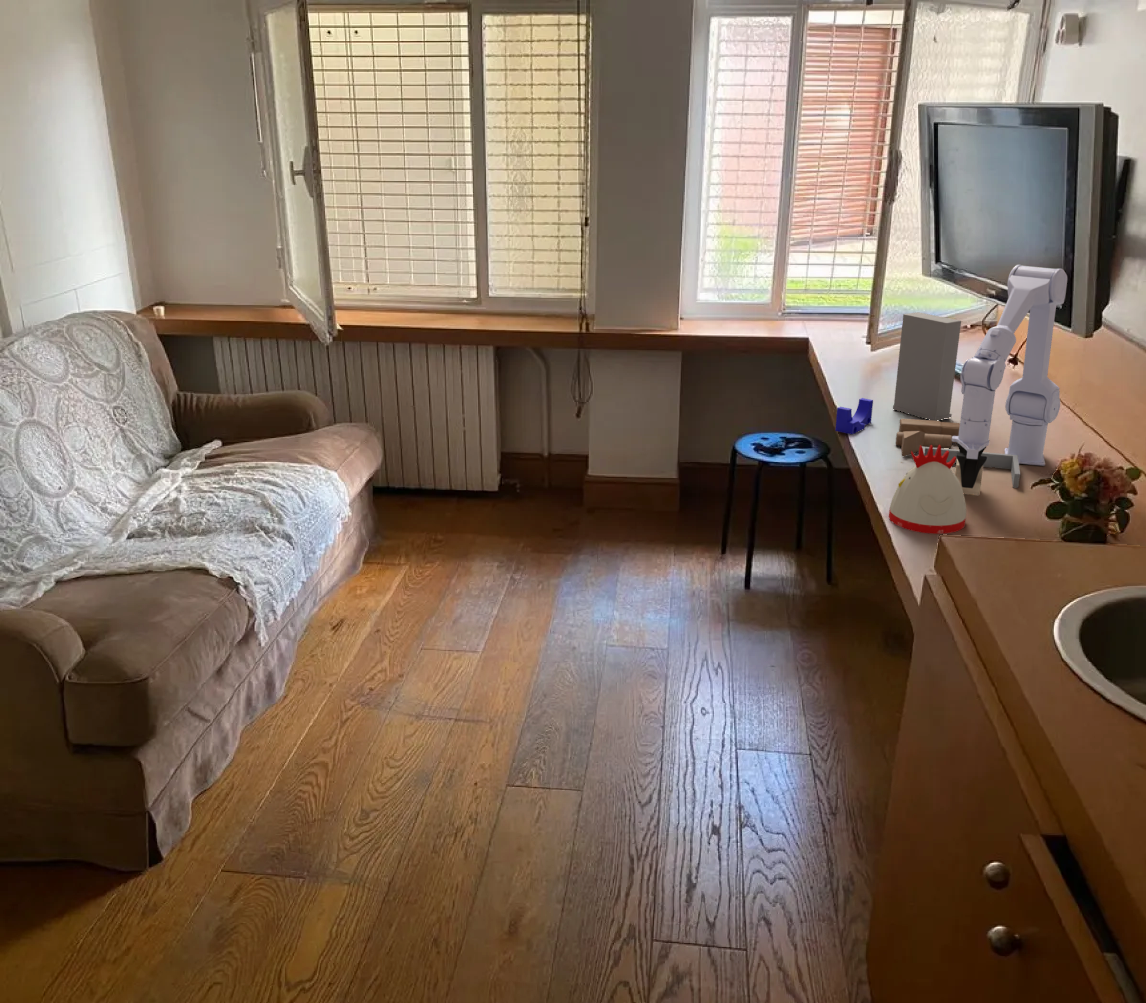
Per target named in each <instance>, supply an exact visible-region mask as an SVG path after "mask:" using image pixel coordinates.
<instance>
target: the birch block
mask: <svg viewBox="0 0 1146 1003" xmlns="http://www.w3.org/2000/svg"><path fill="white" fill-rule="evenodd" d="M983 471H984V467H983V466H982V467H981V469H980V471H979V473H978V476H977V479H976V482H975V484H974V487H973V488H964V487H962V484H961V470H960V465H959V462H958V459H957V463H956V464H955V472H954V474H955V476H956V477H957V479H958V480H959V482H960V485H961V487H962V490H963V493H965V494H964V495H969V494H974V495H973V496H980V491H981V485H982V480H983V479H982V477H983Z"/></svg>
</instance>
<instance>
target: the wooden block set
mask: <svg viewBox="0 0 1146 1003" xmlns="http://www.w3.org/2000/svg"><path fill="white" fill-rule="evenodd" d="M959 427H960V422H947V421H933V420H926V419H913V418H901V419H900V420H899V428H898V431H897V432H896V436H895V445H896V446H897V447H899V446H900V447H901V448H900V450H901V457H902V456H904V457H907V456H906V455H908V456H911V455H912V454H911V451H912V452H913V454H914V453H915V454H918V453H919V447H920V445H921V446H922V447H930V445H932V446H933V448H938V445H940V446H941V448H950V449H952V446H953V445H952V444H954V443H957V442H953V441H952V436H958V435H959ZM917 452H918V453H917ZM910 454H911V455H910ZM915 454H914V455H915Z"/></svg>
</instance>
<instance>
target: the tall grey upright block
mask: <svg viewBox="0 0 1146 1003" xmlns="http://www.w3.org/2000/svg"><path fill="white" fill-rule="evenodd" d="M902 315H903V316H902V325H901V334H900V346H899V354H898V363H897V372H896V382H895V390H894V391H895V392H894V399H893V401H894V402H893V403H894V404H893V405H892V410H893V409H894V410H897V411H896V412H900V411H901V412H900V413H903V412H905V413H904V414H907V413H909V414H908V415H910V414H912V415H911V416H913V415H916V416H919V417H918V418H920V417H923V418H927V419H930V420H933V421H937V420H941V419H944V418H949V417H951V418H952V415H953V414H952V413H951V406H952V396H953V390H954V384H955V383H954V382H955V375H956V374H955V373H956V366H957V359H958V350H959V343H960V342H959V341H960V333H961V326H962V320H960V319H953V318H949V317H944V316H939V315H936V314H931V313H930V314H929V313H923V312H919V311H917V312H916V311H915V312H910V313H903V314H902ZM894 410H893V411H894ZM916 416H915V417H916ZM923 418H922V419H923Z"/></svg>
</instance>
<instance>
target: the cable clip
mask: <svg viewBox="0 0 1146 1003" xmlns="http://www.w3.org/2000/svg"><path fill="white" fill-rule="evenodd" d="M873 405H874V399H868V398H864V397H861V398H859V400H858V404H857V408H856V411H855V412H854V414H852V410H853V409H852V408H849V407H843V406H838V407H837V408H836V417H835V418H836V420H835V421H836V422H835V432H839V433H844V434H849V435H853V434H856V432H857V433H858V431H859V432H861V431H863V430H865V429H864V428H866V427H865V426H866V425H869V424H871V423H872V416H873ZM862 429H863V430H862ZM860 430H861V431H860Z"/></svg>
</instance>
